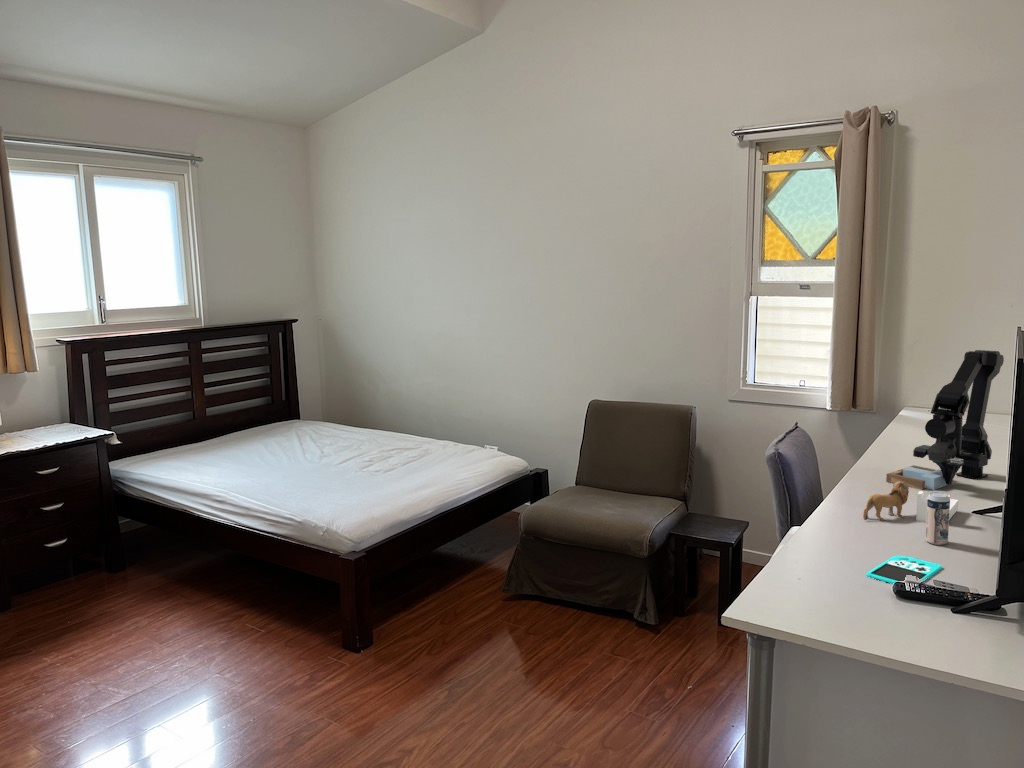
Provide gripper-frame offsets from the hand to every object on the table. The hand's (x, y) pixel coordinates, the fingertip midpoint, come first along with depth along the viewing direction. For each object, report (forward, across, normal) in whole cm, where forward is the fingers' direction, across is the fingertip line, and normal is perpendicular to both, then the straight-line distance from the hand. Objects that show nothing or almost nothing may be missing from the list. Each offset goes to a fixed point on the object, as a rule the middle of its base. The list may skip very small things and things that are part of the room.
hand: (948, 484), depth 222 cm
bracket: (+2, +11, -26) cm, 28 cm away
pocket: (+1, -9, 0) cm, 9 cm away
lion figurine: (+2, +2, -37) cm, 37 cm away
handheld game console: (+2, +25, -67) cm, 72 cm away
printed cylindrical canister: (+2, +20, -45) cm, 49 cm away
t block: (+1, -7, 0) cm, 7 cm away
